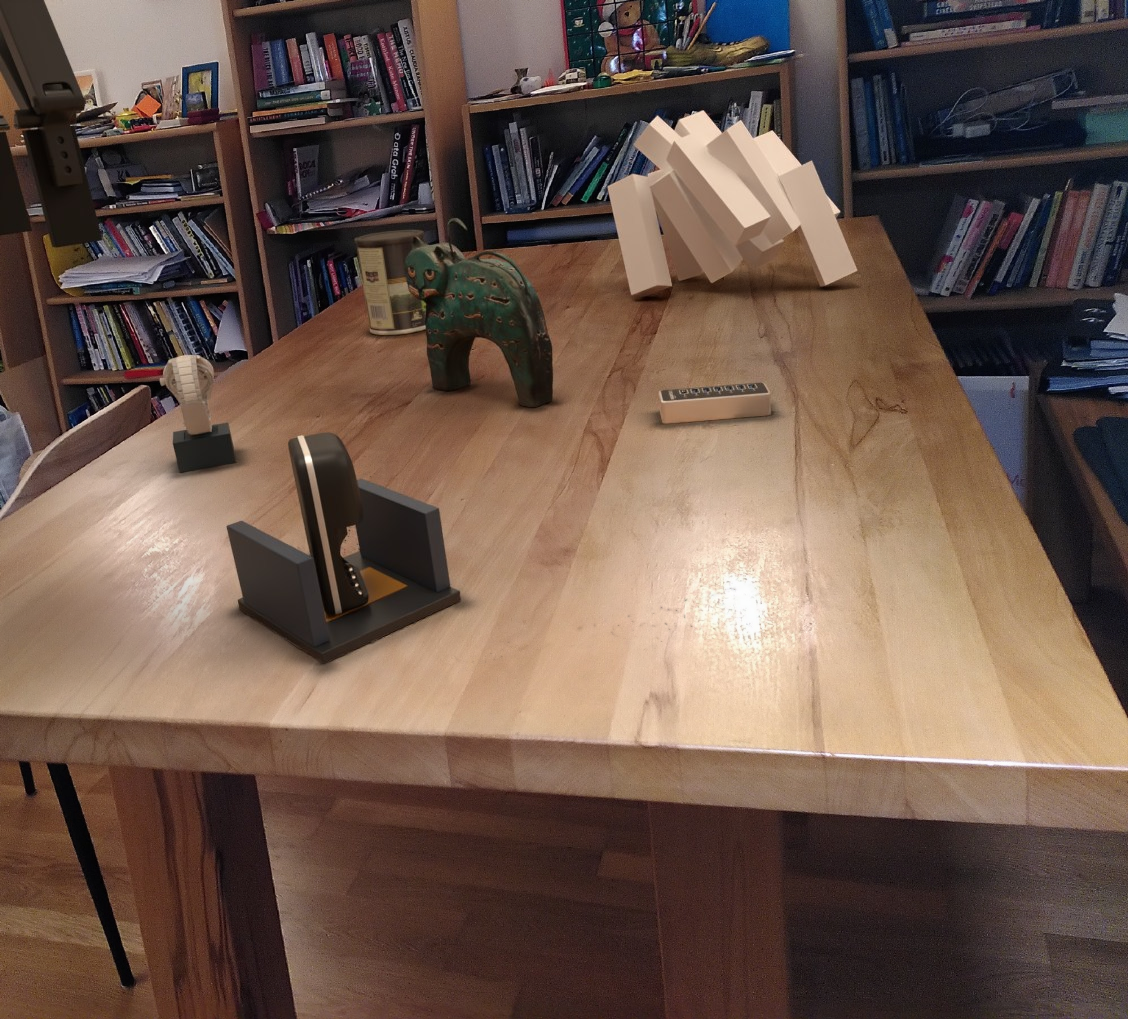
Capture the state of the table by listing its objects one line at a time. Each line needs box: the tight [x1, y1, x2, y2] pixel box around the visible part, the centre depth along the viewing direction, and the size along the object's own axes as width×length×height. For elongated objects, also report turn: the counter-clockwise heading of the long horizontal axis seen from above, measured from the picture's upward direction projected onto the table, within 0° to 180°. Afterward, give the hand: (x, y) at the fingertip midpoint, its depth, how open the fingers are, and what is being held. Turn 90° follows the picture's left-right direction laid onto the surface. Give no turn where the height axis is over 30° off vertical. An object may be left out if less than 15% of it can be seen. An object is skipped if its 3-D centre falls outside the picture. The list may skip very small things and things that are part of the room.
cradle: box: [225, 478, 461, 664], centre depth 72 cm, size 12×11×7 cm
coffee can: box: [354, 229, 426, 336], centre depth 158 cm, size 10×10×14 cm
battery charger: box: [287, 431, 369, 615], centre depth 71 cm, size 7×4×11 cm, turn 19°
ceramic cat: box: [405, 217, 554, 408], centre depth 118 cm, size 20×6×20 cm, turn 45°
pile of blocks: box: [607, 110, 858, 297], centre depth 165 cm, size 35×30×35 cm
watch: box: [159, 354, 237, 474], centre depth 105 cm, size 6×8×11 cm
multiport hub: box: [658, 381, 772, 424], centre depth 107 cm, size 4×11×2 cm, turn 89°
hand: (41, 239), depth 67 cm, fingers open, 13 cm apart
